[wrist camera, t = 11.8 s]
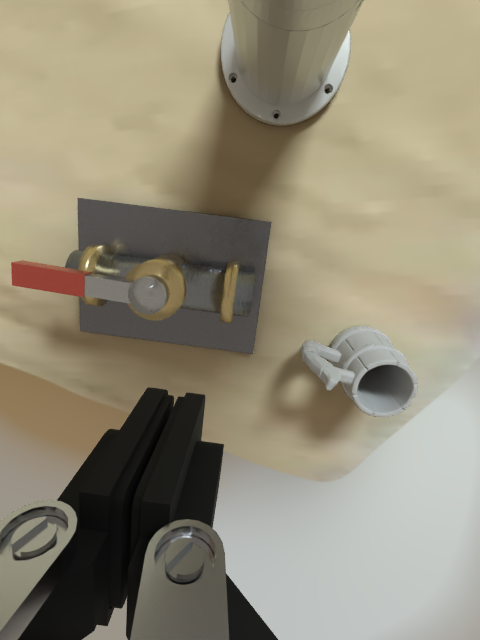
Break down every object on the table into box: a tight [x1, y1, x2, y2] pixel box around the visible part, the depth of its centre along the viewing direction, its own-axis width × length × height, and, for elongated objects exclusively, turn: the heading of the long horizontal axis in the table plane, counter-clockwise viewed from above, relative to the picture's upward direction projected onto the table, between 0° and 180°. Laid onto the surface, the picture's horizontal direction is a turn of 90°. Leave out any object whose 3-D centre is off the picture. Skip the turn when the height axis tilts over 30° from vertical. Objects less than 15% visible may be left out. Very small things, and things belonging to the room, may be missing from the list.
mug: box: [301, 326, 418, 417], centre depth 37 cm, size 8×12×12 cm, turn 77°
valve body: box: [65, 198, 271, 354], centre depth 38 cm, size 16×22×8 cm
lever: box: [11, 261, 170, 315], centre depth 33 cm, size 15×4×2 cm, turn 81°
